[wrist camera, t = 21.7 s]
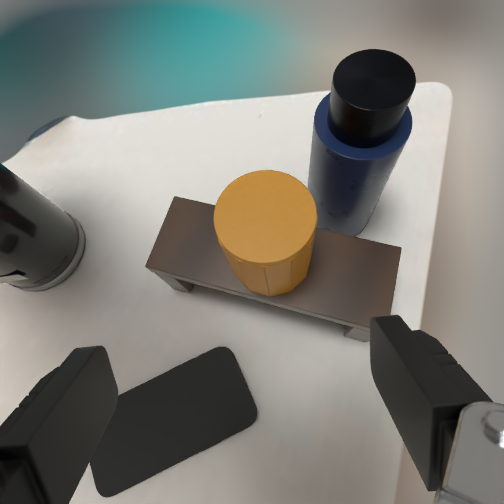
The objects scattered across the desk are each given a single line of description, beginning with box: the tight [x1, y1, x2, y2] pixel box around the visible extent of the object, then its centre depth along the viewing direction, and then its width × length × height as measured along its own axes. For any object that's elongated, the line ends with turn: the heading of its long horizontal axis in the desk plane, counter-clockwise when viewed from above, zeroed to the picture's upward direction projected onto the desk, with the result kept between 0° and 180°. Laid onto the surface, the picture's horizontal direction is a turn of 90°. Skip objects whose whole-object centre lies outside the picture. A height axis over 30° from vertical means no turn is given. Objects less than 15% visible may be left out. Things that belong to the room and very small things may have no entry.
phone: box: [90, 347, 257, 497], centre depth 31 cm, size 7×1×15 cm
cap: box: [214, 170, 318, 297], centre depth 25 cm, size 6×6×8 cm
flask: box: [308, 49, 416, 237], centre depth 29 cm, size 7×7×18 cm
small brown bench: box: [145, 196, 401, 342], centre depth 32 cm, size 20×7×7 cm, turn 73°
